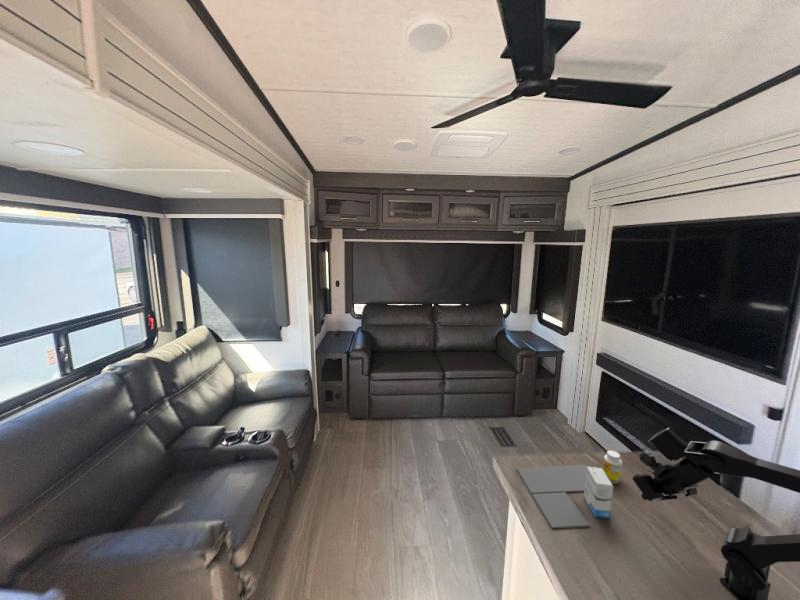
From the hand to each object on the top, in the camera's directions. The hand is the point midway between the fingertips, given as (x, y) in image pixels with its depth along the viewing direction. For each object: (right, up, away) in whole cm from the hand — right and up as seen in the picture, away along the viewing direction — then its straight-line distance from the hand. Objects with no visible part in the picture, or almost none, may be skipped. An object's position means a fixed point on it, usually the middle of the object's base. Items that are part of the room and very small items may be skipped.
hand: (643, 497), depth 91 cm
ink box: (-7, -10, +10) cm, 16 cm away
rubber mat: (-13, -9, +16) cm, 22 cm away
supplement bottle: (+6, -8, +23) cm, 25 cm away
